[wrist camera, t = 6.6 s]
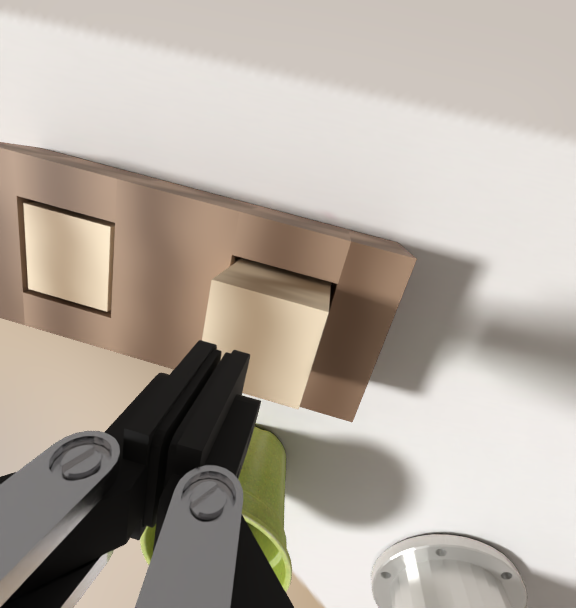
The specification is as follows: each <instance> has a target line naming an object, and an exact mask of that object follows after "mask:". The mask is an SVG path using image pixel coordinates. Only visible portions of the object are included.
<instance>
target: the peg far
mask: <svg viewBox="0 0 576 608" xmlns="http://www.w3.org/2000/svg"><path fill="white" fill-rule="evenodd" d="M23 205H24V222H25V240H26V257H27V275H28V289H31V290H34V291H37V292H41V293H44V294H48V295H51V296H55V297H58V298H62V299H65V300H68V301H72V302H75V303H79V304H82V305H86V306H89V307H93V308H96V309H99V310H103V311H106V312H108V311H110V310H111V305H112V282H113V259H114V236H115V223H114V222H110V221H107V220H103V219H99V218H96V217H92V216H89V215H85V214H81V213H78V212H74V211H70V210H67V209H63V208H59V207H56V206H52V205H48V204H45V203H41V202H34V203H23Z"/></svg>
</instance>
